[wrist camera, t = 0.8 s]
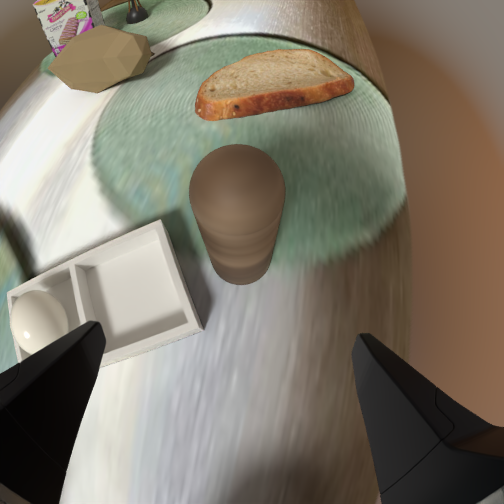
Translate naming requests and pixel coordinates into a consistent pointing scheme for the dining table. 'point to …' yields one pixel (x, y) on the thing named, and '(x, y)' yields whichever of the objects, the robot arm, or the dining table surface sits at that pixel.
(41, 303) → the cream white ball
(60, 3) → the candy bar box
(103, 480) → the dining table surface
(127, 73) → the low-poly potato
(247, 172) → the brown domed cylinder
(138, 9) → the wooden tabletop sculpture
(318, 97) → the slice of bread
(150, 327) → the white divided tray
